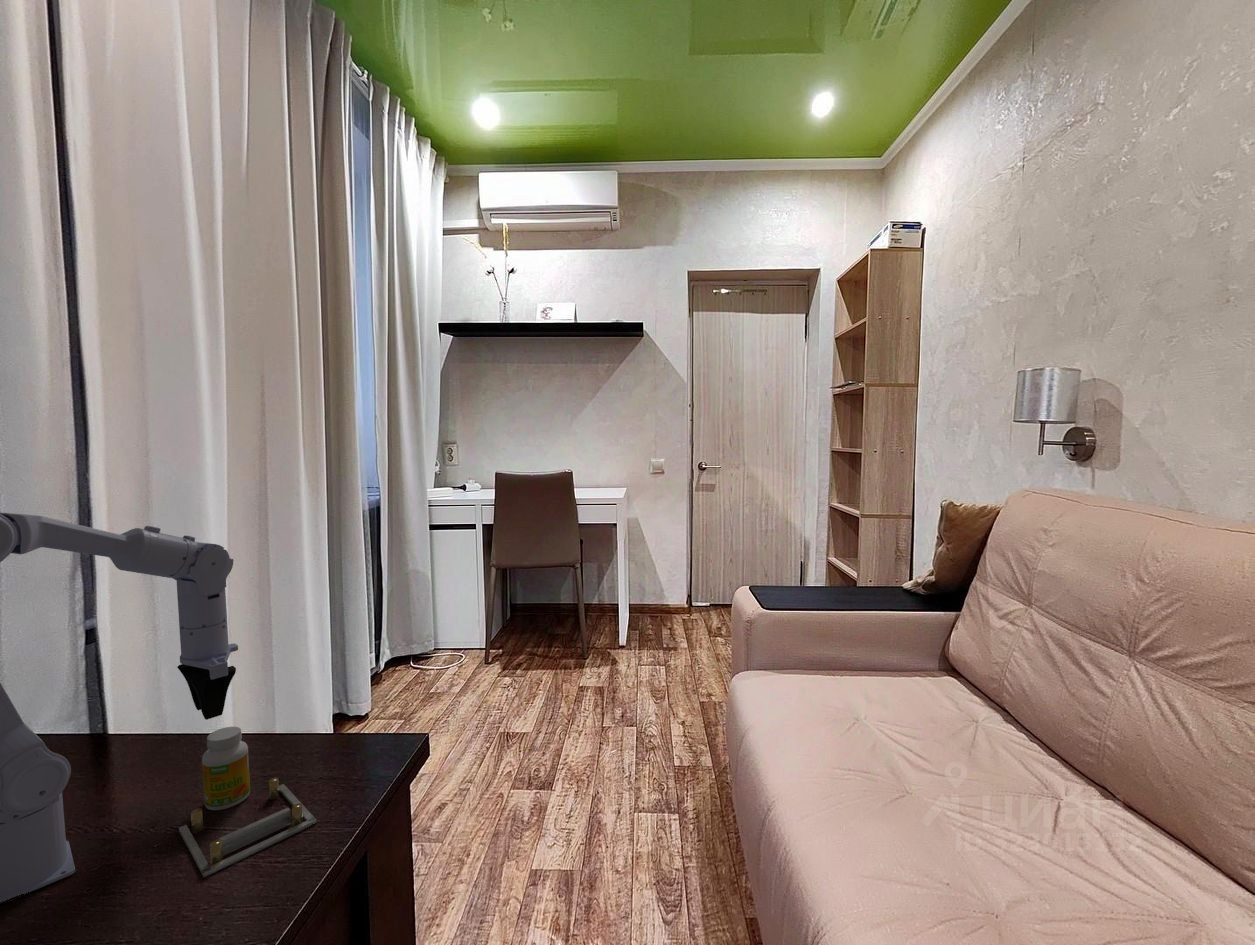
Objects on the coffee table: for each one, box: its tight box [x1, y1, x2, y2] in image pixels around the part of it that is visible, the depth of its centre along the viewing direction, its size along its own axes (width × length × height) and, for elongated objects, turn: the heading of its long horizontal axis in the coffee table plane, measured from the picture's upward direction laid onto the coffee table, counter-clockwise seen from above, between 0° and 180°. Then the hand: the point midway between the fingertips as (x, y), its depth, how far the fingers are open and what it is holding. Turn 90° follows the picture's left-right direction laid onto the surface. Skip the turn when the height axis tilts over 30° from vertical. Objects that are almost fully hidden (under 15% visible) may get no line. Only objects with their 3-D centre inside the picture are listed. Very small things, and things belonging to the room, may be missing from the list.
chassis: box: [178, 777, 317, 878], centre depth 76 cm, size 12×12×2 cm
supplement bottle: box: [201, 726, 251, 811], centre depth 82 cm, size 5×5×10 cm
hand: (209, 712), depth 86 cm, fingers open, 4 cm apart
